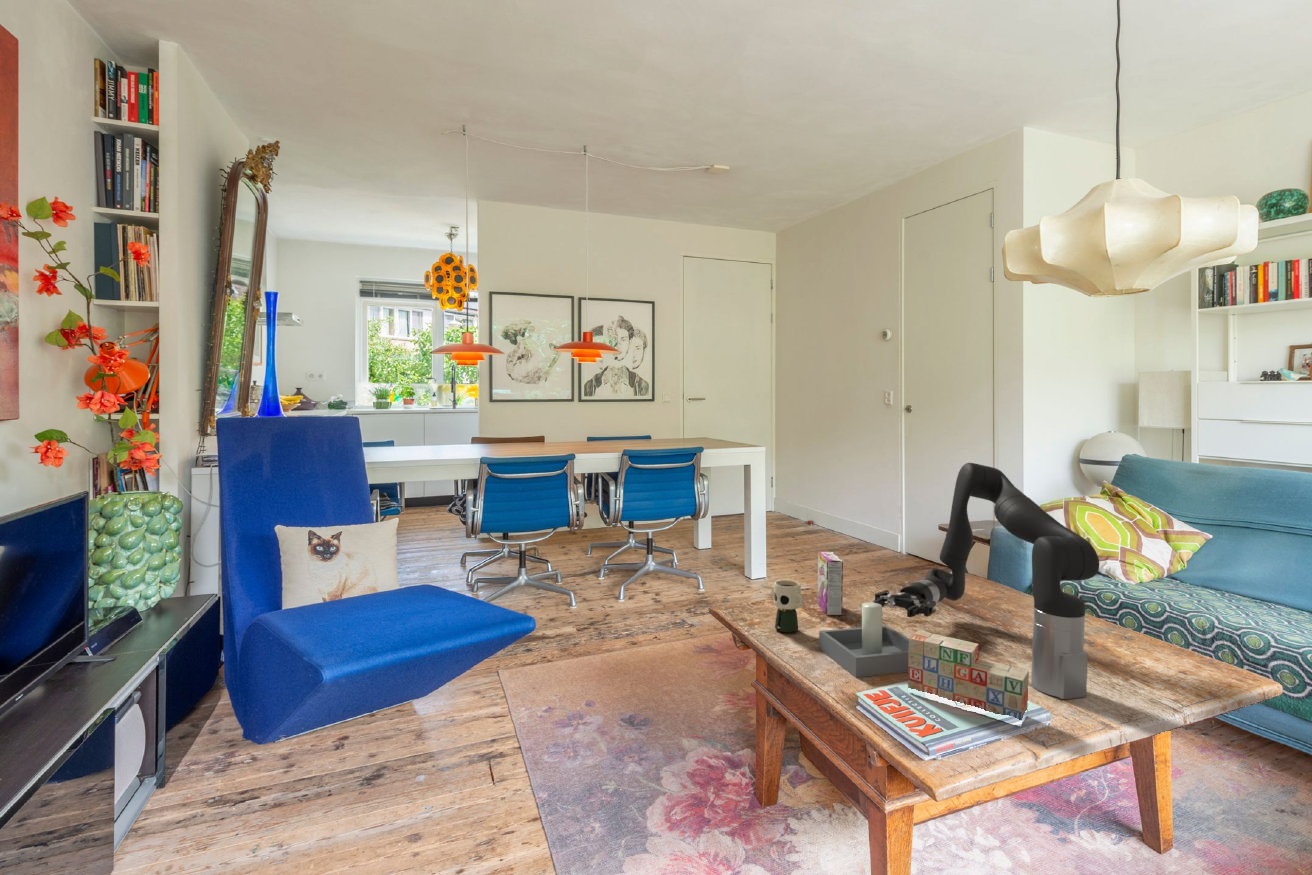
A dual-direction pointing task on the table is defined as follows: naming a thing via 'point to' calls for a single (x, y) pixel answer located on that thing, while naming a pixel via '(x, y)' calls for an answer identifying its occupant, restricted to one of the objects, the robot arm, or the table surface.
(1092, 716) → the table surface
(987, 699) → the stack of blocks
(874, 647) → the canister
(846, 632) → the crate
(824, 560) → the candy bar box
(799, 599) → the character mug
